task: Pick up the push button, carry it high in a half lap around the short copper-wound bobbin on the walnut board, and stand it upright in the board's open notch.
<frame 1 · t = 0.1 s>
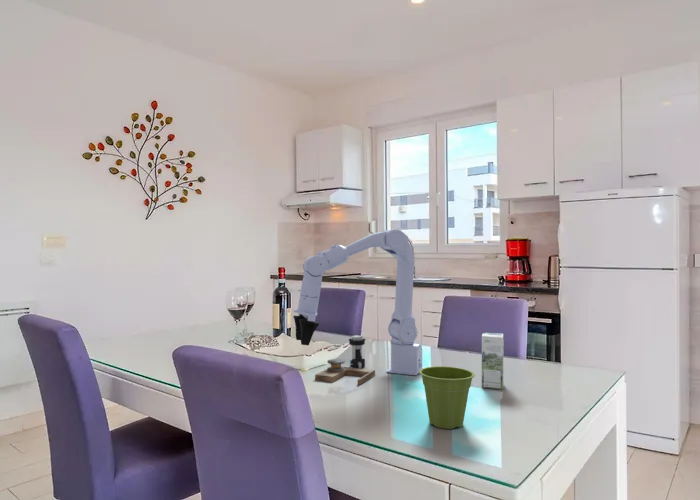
hand: (302, 342, 146), 11 cm above the table, tool pointing down, fingers open, 7 cm apart
syrup box: (492, 387, 137), on the table
notched board: (345, 377, 147), on the table
plant pot: (446, 424, 108), on the table
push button: (355, 368, 159), on the table
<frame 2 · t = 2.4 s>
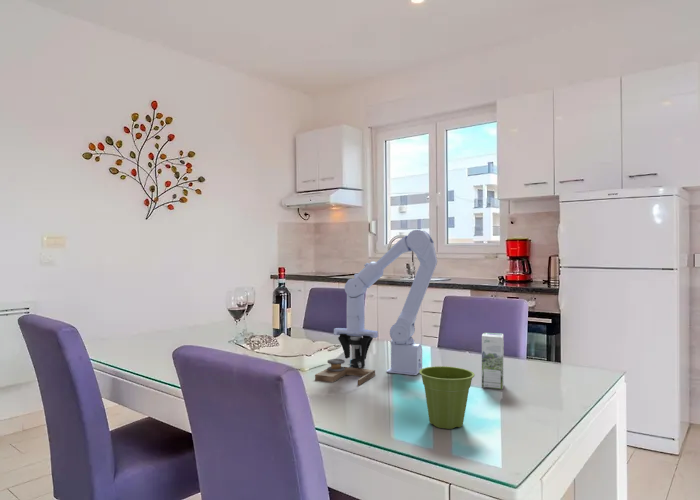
hand: (355, 358, 159), 3 cm above the table, tool pointing down, fingers closed on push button, 5 cm apart
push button: (355, 368, 159), on the table, touching gripper
everything else where it was.
when the fingers open (4 cm above the table, at t = 9.7 s): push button stays where it is, resting in notched board.
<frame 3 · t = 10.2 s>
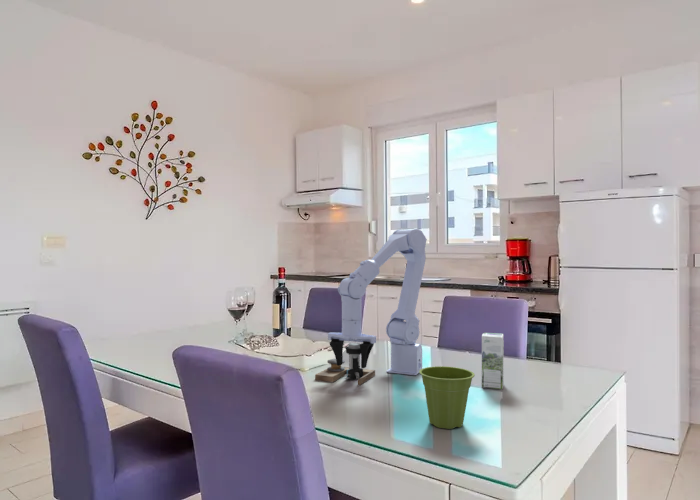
hand: (351, 366, 144), 4 cm above the table, tool pointing down, fingers open, 7 cm apart
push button: (352, 379, 146), resting in notched board
everything else where it was.
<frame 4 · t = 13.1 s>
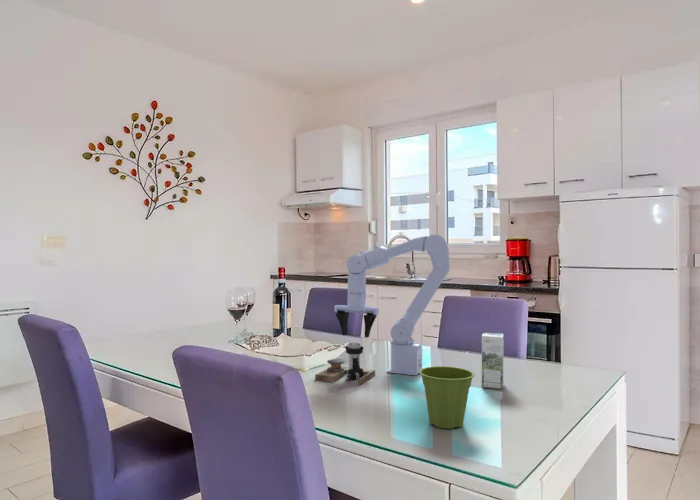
hand: (355, 335, 157), 10 cm above the table, tool pointing down, fingers open, 7 cm apart
nothing on the table moved.
at the end: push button 1.3 cm from the target spot on the notched board, point 0.0 cm above the notched board's base; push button tilted 0°; the gripper is holding nothing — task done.
